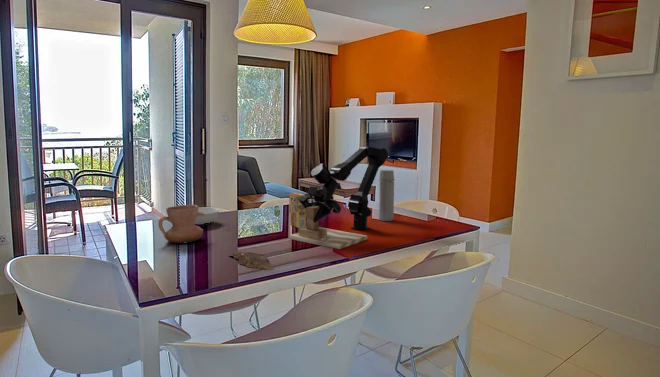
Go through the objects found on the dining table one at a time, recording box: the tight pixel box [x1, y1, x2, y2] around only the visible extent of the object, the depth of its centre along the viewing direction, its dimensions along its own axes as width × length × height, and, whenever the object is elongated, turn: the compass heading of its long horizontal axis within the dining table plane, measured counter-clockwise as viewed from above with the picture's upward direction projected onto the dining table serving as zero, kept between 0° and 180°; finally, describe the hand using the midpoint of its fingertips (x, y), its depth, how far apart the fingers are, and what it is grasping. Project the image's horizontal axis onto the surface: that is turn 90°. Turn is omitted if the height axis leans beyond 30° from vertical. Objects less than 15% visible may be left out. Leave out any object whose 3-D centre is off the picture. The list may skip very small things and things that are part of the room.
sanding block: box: [298, 206, 328, 240], centre depth 174 cm, size 6×10×12 cm, turn 52°
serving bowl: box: [194, 206, 220, 224], centre depth 203 cm, size 21×21×7 cm
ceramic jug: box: [157, 204, 204, 244], centre depth 172 cm, size 18×14×14 cm
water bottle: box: [378, 169, 395, 222], centre depth 210 cm, size 9×8×25 cm
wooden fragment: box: [231, 250, 275, 271], centre depth 147 cm, size 26×11×1 cm, turn 34°
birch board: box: [288, 226, 368, 250], centre depth 176 cm, size 19×26×2 cm
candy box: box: [288, 192, 307, 229], centre depth 199 cm, size 9×4×15 cm, turn 33°
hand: (310, 221), depth 172 cm, fingers closed on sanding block, 3 cm apart
